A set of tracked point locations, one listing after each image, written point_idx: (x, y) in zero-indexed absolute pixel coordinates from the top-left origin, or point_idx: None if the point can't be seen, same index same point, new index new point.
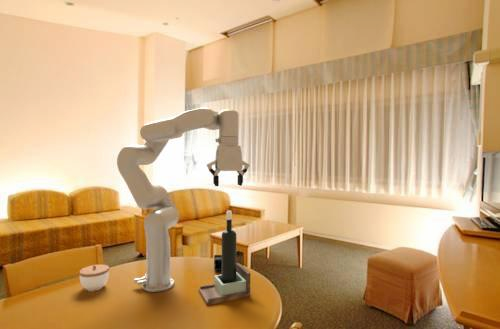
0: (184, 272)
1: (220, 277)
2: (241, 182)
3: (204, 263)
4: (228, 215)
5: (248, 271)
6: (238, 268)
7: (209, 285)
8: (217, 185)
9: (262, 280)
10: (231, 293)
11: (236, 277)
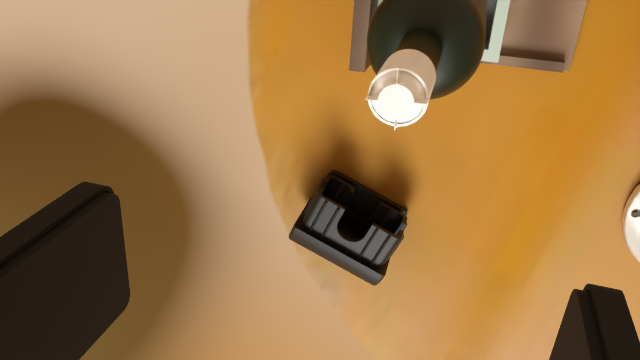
0: (527, 278)
1: None
2: (62, 203)
3: (405, 314)
4: (421, 67)
5: None
6: None
7: (520, 57)
8: (607, 289)
9: (258, 25)
10: None
11: None
